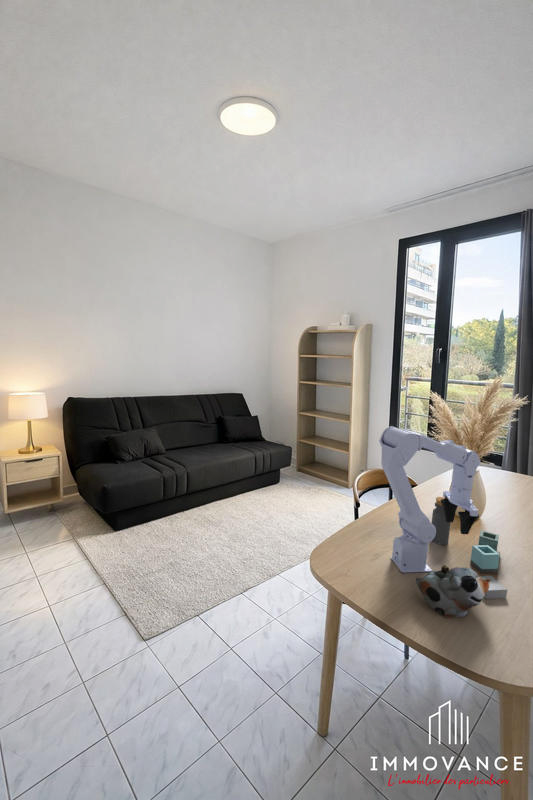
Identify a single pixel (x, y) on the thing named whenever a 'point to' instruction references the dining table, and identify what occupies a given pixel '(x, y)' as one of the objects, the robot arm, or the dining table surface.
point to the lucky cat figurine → (453, 590)
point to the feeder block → (495, 589)
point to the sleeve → (485, 559)
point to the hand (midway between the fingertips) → (456, 527)
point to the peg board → (491, 541)
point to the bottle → (440, 523)
